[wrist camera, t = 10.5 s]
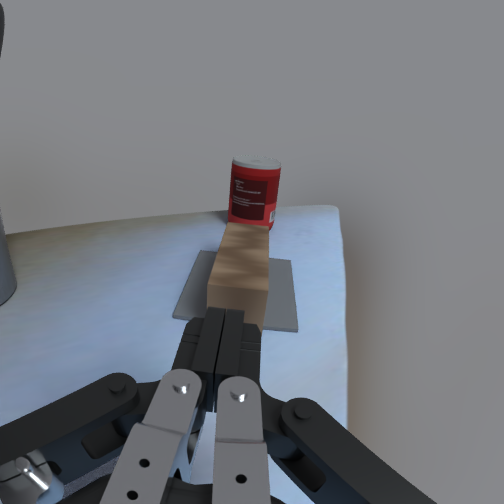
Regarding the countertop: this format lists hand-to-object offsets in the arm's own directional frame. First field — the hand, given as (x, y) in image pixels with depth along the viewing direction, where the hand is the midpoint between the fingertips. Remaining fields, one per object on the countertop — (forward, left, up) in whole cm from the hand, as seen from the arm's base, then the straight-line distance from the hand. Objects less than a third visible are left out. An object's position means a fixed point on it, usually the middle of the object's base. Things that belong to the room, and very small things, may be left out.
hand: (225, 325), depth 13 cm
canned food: (-20, +34, -11) cm, 41 cm away
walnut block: (-6, +10, -8) cm, 14 cm away
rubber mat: (-10, +17, -11) cm, 23 cm away
